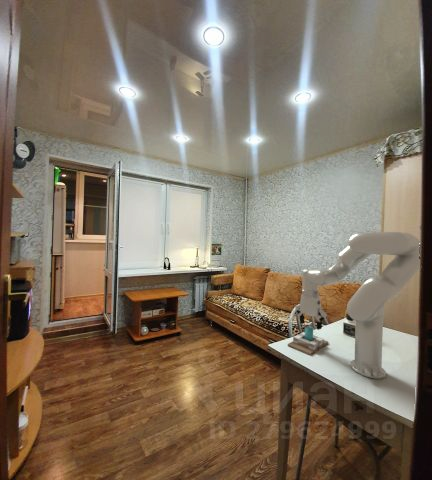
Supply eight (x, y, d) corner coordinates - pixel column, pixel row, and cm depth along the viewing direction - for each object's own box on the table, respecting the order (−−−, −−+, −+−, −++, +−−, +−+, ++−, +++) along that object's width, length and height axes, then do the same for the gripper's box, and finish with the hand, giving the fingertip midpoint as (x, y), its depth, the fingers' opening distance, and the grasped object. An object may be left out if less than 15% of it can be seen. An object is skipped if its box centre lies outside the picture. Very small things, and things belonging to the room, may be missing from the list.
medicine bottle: (342, 333, 132) (343, 313, 132) (347, 330, 136) (347, 311, 136) (356, 338, 126) (357, 317, 126) (360, 334, 131) (361, 314, 131)
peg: (312, 345, 114) (313, 329, 114) (304, 343, 116) (304, 328, 116) (313, 342, 118) (313, 326, 118) (304, 340, 119) (305, 325, 119)
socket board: (310, 355, 106) (310, 348, 106) (287, 345, 115) (287, 339, 115) (328, 343, 119) (328, 336, 119) (306, 335, 128) (306, 329, 128)
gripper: (330, 295, 111) (330, 329, 111) (300, 289, 126) (300, 320, 125) (321, 297, 107) (322, 333, 107) (291, 291, 122) (291, 322, 121)
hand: (310, 326), depth 116 cm, fingers open, 9 cm apart
